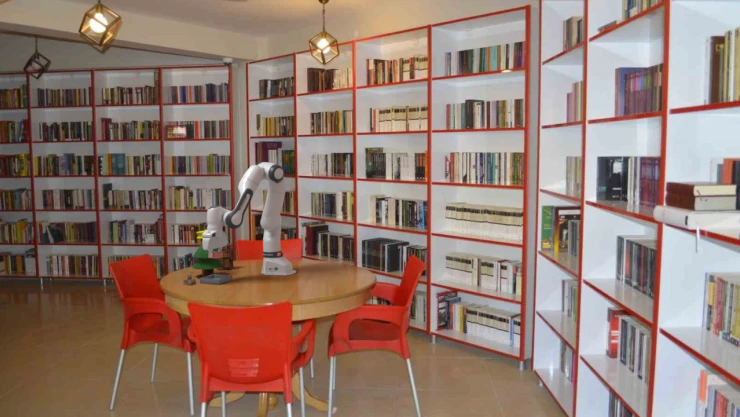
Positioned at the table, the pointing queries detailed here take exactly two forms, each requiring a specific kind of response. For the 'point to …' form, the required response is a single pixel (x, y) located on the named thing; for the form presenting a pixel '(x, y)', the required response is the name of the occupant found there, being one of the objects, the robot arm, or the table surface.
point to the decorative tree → (205, 259)
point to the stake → (189, 280)
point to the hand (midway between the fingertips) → (215, 255)
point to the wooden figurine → (226, 258)
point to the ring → (216, 255)
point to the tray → (216, 279)
